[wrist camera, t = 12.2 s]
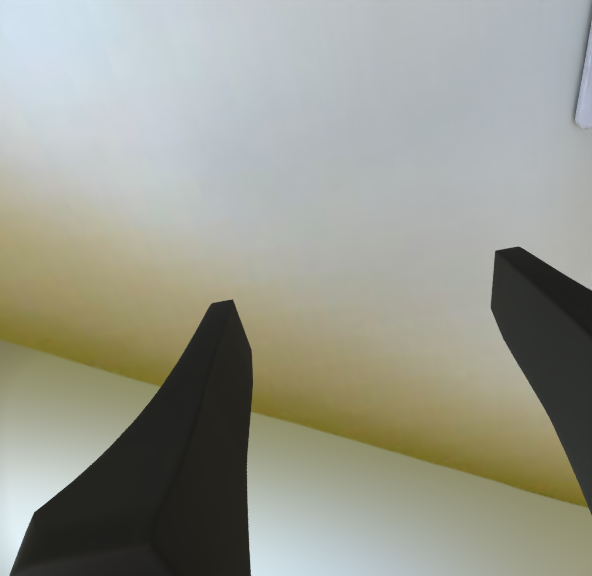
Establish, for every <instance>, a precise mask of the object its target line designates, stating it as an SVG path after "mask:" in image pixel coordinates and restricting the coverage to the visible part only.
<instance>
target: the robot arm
mask: <svg viewBox="0 0 592 576" xmlns="http://www.w3.org/2000/svg"><path fill="white" fill-rule="evenodd" d="M575 121H576V123H577V125H579V126H580V127H582V128H584V129H589V128H592V22H591V28H590V34H589V40H588V46H587V51H586V57H585V63H584V69H583V75H582V81H581V87H580V93H579V98H578V104H577V110H576V116H575ZM491 310H492V312H493V315H494V317H495V320H496V322H497V325H498V327H499V329H500V332H501V334H502V336H503V339H504V341H505V342H506V344H507V346H508V348H509V349H510V351H511V353H512V354H513V356H514V358H515V360H516V361H517V363H518V365H519V366H520V368H521V370H522V371H523V373H524V375H525V376H526V378H527V380H528V381H529V383H530V385H531V386H532V388H533V390H534V392H535V393H536V395H537V397H538V398H539V400H540V402H541V403H542V405H543V407H544V409H545V410H546V412H547V414H548V416H549V418H550V420H551V422H552V424H553V426H554V428H555V430H556V433H557V435H558V437H559V439H560V441H561V443H562V446H563V448H564V450H565V452H566V454H567V457H568V459H569V461H570V464H571V466H572V468H573V471H574V473H575V475H576V478H577V480H578V482H579V485H580V487H581V489H582V492H583V494H584V497H585V499H586V502H587V504H588V507H589V509H590V512H591V514H592V291H591V290H590V289H588V288H586V287H584V286H583V285H581V284H579V283H578V282H576V281H574V280H572V279H571V278H569V277H568V276H566V275H564V274H563V273H561V272H559V271H558V270H556V269H555V268H553V267H551V266H550V265H548V264H547V263H545V262H543V261H542V260H540V259H539V258H537V257H535V256H534V255H532V254H531V253H529V252H527V251H526V250H524V249H522V248H521V247H513V248H508V249H502V250H497V251H495V261H494V274H493V286H492V299H491ZM252 388H253V371H252V352H251V348H250V345H249V342H248V339H247V337H246V334H245V331H244V329H243V326H242V323H241V320H240V318H239V315H238V312H237V310H236V307H235V304H234V301H233V300H227V301H222V302H217V303H212V304H211V305H210V307H209V308H208V310H207V312H206V314H205V316H204V317H203V319H202V321H201V323H200V325H199V327H198V328H197V330H196V332H195V334H194V336H193V337H192V339H191V341H190V343H189V344H188V346H187V348H186V349H185V351H184V353H183V354H182V356H181V358H180V359H179V361H178V362H177V364H176V366H175V367H174V368H173V370H172V371H171V373H170V374H169V376H168V377H167V379H166V380H165V382H164V383H163V385H162V386H161V388H160V389H159V390H158V392H157V393H156V394H155V396H154V397H153V399H152V400H151V401H150V402H149V404H148V405H147V406H146V407H145V409H144V410H143V411H142V412H141V414H140V415H139V416H138V417H137V418H136V419H135V421H134V422H133V423H132V424H131V425H130V426H129V427H128V428H127V429H126V430H125V431H124V432H123V433H122V435H121V436H120V437H119V438H118V439H117V440H116V441H115V442H114V443H113V444H112V445H111V446H110V447H109V448H108V449H107V450H106V451H105V452H104V453H103V454H102V455H101V456H100V457H99V458H98V459H97V460H96V461H95V462H94V463H93V464H92V465H90V466H89V467H88V468H87V469H86V470H85V471H84V472H83V473H82V474H81V475H79V476H78V477H77V478H76V479H75V480H74V481H73V482H72V483H70V484H69V485H68V486H67V487H65V488H64V489H63V490H62V491H60V492H59V493H58V494H57V495H56V496H54V497H53V498H52V499H51V500H49V501H48V502H47V503H46V504H44V505H43V506H42V507H41V508H39V509H38V510H37V511H36V512H34V515H33V517H32V519H31V521H30V524H29V526H28V528H27V531H26V533H25V536H24V539H23V541H22V544H21V546H20V549H19V552H18V555H17V557H16V559H15V562H14V565H13V567H12V570H11V573H10V576H251V570H250V552H249V532H248V505H247V451H248V438H249V426H250V414H251V402H252Z"/></svg>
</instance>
